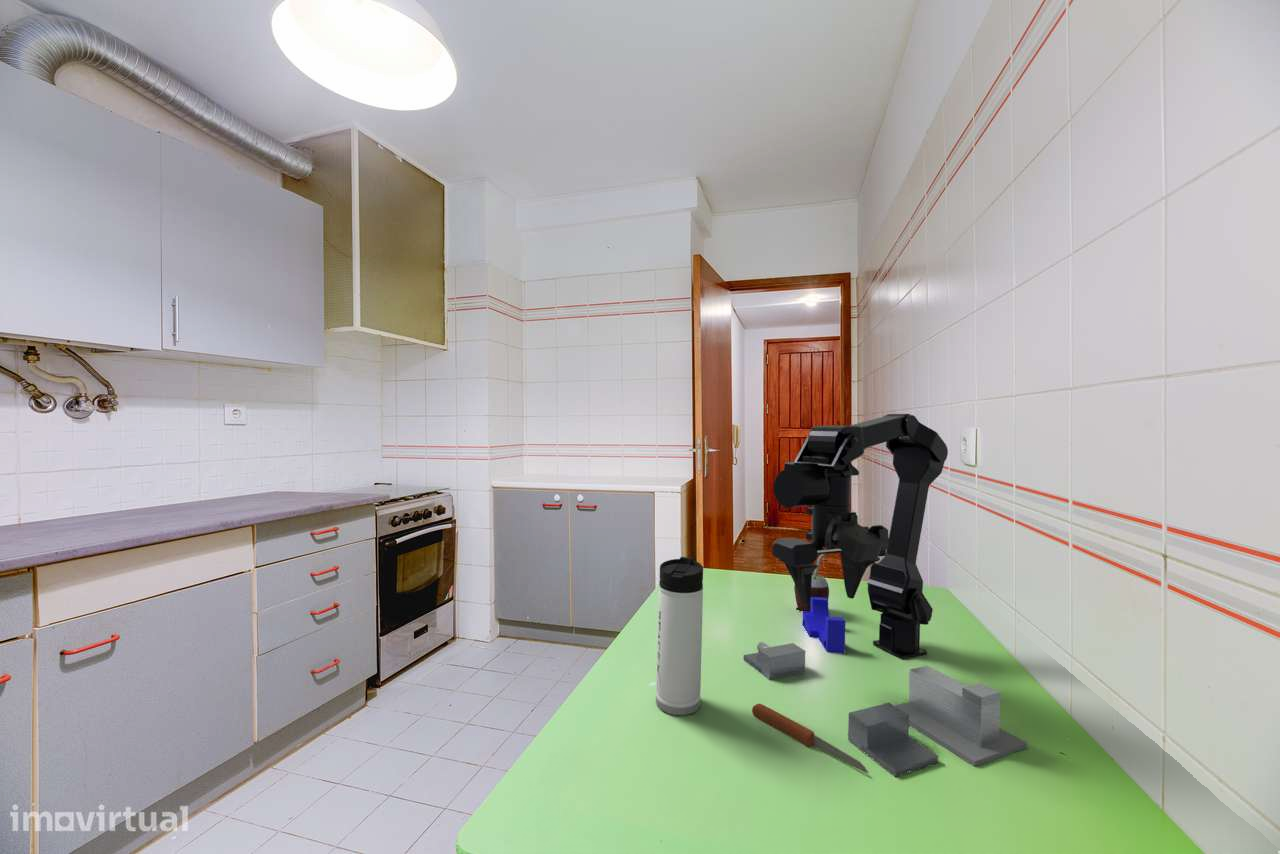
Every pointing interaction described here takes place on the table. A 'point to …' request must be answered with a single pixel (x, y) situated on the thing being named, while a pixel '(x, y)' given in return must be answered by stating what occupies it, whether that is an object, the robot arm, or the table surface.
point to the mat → (962, 739)
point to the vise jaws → (856, 716)
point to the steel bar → (956, 704)
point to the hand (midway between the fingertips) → (828, 601)
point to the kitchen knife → (802, 734)
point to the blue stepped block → (825, 626)
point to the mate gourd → (814, 588)
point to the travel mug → (679, 636)
